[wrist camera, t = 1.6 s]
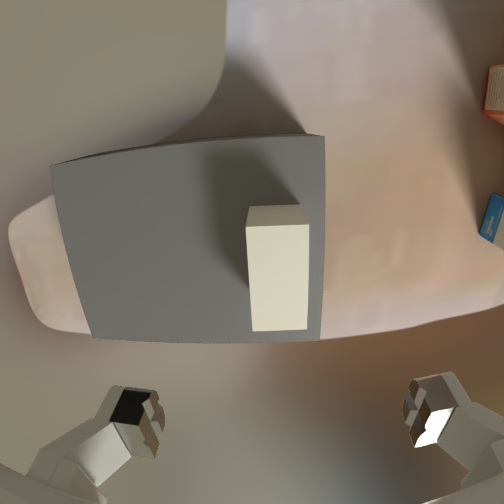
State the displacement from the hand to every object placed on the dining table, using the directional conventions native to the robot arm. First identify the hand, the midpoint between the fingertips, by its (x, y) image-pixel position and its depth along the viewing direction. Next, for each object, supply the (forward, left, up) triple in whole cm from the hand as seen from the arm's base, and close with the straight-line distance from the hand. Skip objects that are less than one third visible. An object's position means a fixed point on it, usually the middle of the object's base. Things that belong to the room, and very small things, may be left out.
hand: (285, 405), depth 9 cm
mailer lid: (0, -6, -12) cm, 14 cm away
